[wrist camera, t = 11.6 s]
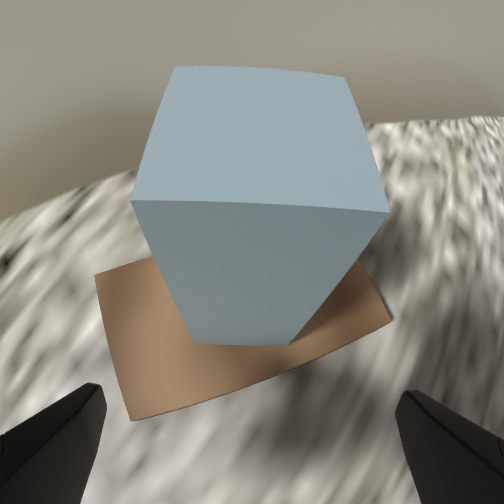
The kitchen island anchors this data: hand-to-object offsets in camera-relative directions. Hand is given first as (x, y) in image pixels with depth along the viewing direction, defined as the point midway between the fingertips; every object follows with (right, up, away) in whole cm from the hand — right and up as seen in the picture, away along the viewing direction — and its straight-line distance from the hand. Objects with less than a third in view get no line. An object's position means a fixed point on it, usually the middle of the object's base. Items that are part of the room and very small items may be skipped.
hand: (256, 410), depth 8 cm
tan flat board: (-1, +1, +11) cm, 11 cm away
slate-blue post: (-1, +2, +10) cm, 10 cm away
